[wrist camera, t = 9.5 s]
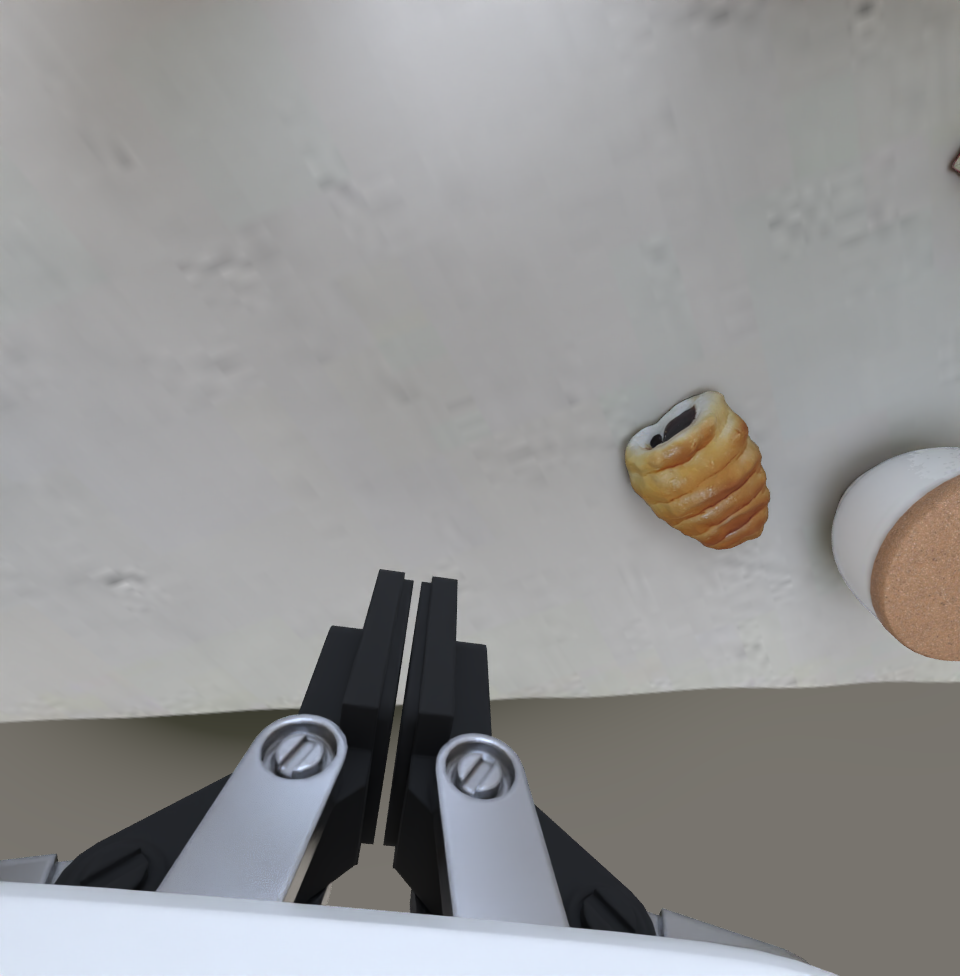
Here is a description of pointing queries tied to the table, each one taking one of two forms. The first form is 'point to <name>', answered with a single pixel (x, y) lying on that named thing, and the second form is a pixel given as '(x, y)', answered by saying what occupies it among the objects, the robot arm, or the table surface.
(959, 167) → the gift box
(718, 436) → the pastry
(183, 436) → the table surface
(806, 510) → the table surface
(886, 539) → the trinket box
